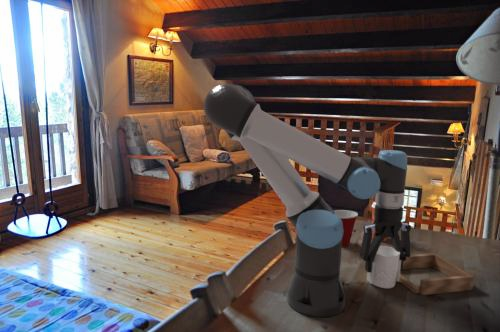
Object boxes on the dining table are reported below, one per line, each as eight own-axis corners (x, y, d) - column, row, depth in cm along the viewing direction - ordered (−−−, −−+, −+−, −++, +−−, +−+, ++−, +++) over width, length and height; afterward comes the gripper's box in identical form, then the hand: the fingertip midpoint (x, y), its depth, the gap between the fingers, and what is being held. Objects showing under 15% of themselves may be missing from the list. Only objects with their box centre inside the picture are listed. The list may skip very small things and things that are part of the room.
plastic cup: (339, 236, 147) (341, 206, 144) (362, 245, 138) (364, 213, 136) (319, 241, 140) (321, 211, 138) (342, 251, 132) (344, 219, 130)
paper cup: (364, 236, 147) (367, 201, 144) (381, 234, 149) (384, 200, 147) (377, 243, 140) (380, 207, 137) (394, 241, 142) (397, 205, 139)
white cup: (399, 291, 106) (402, 257, 104) (370, 288, 107) (372, 255, 105) (394, 278, 113) (397, 246, 111) (367, 275, 115) (369, 244, 113)
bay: (417, 295, 103) (418, 282, 103) (384, 268, 119) (385, 256, 118) (472, 289, 107) (474, 276, 106) (433, 264, 123) (434, 253, 122)
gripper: (362, 211, 100) (356, 290, 104) (429, 207, 104) (422, 283, 108) (349, 203, 107) (344, 277, 112) (413, 200, 111) (406, 271, 116)
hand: (382, 280), depth 110 cm, fingers closed on white cup, 7 cm apart
